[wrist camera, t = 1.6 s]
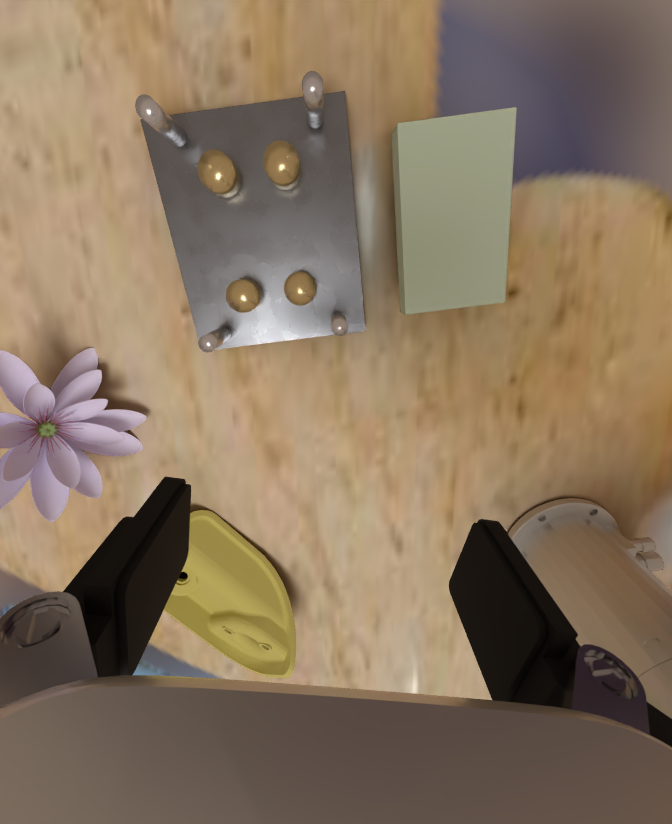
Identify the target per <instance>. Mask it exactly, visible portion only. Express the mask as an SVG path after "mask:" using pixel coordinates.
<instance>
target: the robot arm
mask: <svg viewBox="0 0 672 824" xmlns="http://www.w3.org/2000/svg"><path fill="white" fill-rule="evenodd" d="M190 504H191V485H189V484H186V482H185V480H184V479H180V478H172V477H165V478H164V479H163V480H162V481H161V482H160V484H159V485H158V486H157V487H156V489H155V490H154V491H153V493H152V494H151V495H150V497H149V498H148V499H147V501H146V502H145V503H144V504H143V506H142V507H141V508H140V510H139V511H138V512H137V514H136V515H135V516H134V517H125V518H123V519H122V520H121V521H120V522H119V523H118V524H117V526H116V527H115V528H114V529H113V531H112V532H111V533H110V534H109V535H108V537H107V538H106V539H105V540H104V542H103V543H102V544H101V545H100V547H99V548H98V549H97V550H96V552H95V553H94V554H93V555H92V557H91V558H90V559H89V560H88V561H87V563H86V564H85V565H84V566H83V568H82V569H81V570H80V571H79V573H78V574H77V575H76V576H75V578H74V579H73V580H72V581H71V583H70V584H69V585H68V586H67V587H66V589H65V590H64V591H63V592H59V591H58V592H46V593H43V594H39V595H35V596H33V597H31V598H28V599H26V600H24V601H22V602H20V603H18V604H17V605H15V606H14V607H12V608H11V609H9V610H8V611H7V612H6V613H5V614H4V615H3V616H2V617H1V618H0V824H672V591H671V590H670V589H669V588H668V587H667V586H666V585H665V584H664V583H663V582H661V581H660V580H659V579H658V578H657V577H656V576H655V575H654V574H653V573H652V572H651V571H658V570H663V568H664V562H663V560H662V558H661V557H660V555H659V554H657V553H656V552H652V551H654V550H655V549H656V545H655V543H654V541H653V540H652V539H651V538H649V537H646V538H637V539H633V540H629V539H628V538H625V537H624V536H623V535H622V534H620V533H619V530H618V526H617V523H616V521H615V520H614V518H613V517H612V516H611V515H610V514H609V513H608V512H607V511H606V510H605V509H603V508H602V507H601V506H600V505H598V504H596V503H594V502H592V501H589V500H584V499H578V498H567V499H559V500H555V501H551V502H547V503H545V504H543V505H540V506H538V507H536V508H534V509H533V510H531V511H529V512H528V513H526V514H525V515H524V516H523V517H521V518H520V519H519V520H518V521H517V522H516V523H515V525H514V526H513V527H512V528H511V530H510V531H509V533H508V534H507V532H506V531H505V529H504V528H503V527H502V525H501V524H500V523H499V522H497V521H492V520H484V519H480V520H479V521H478V522H477V523H474V524H473V525H472V527H471V530H470V532H469V535H468V537H467V540H466V542H465V544H464V547H463V549H462V552H461V554H460V557H459V559H458V561H457V564H456V566H455V569H454V571H453V574H452V576H451V579H450V582H449V590H450V594H451V596H452V599H453V601H454V604H455V606H456V609H457V612H458V614H459V617H460V619H461V622H462V624H463V627H464V629H465V632H466V634H467V637H468V639H469V642H470V644H471V647H472V650H473V652H474V655H475V657H476V660H477V662H478V665H479V667H480V670H481V672H482V675H483V677H484V680H485V683H486V685H487V688H488V690H489V693H490V695H491V698H492V700H482V699H470V698H459V697H447V696H435V695H424V694H412V693H399V692H387V691H374V690H362V689H349V688H336V687H323V686H310V685H297V684H283V683H269V682H256V681H242V680H228V679H212V678H194V677H175V676H145V675H132V674H133V673H134V671H135V669H136V667H137V665H138V663H139V661H140V659H141V657H142V655H143V653H144V650H145V648H146V646H147V644H148V642H149V640H150V638H151V635H152V633H153V631H154V629H155V627H156V625H157V623H158V621H159V618H160V616H161V614H162V612H163V610H164V608H165V606H166V603H167V601H168V599H169V597H170V595H171V593H172V591H173V589H174V586H175V584H176V582H177V580H178V578H179V576H180V574H181V572H182V569H183V567H184V565H185V563H186V560H187V557H188V552H189V529H190ZM645 551H651V552H645ZM637 552H642V553H637Z"/></svg>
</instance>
